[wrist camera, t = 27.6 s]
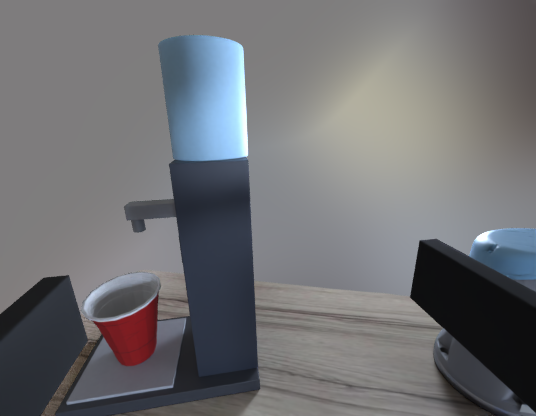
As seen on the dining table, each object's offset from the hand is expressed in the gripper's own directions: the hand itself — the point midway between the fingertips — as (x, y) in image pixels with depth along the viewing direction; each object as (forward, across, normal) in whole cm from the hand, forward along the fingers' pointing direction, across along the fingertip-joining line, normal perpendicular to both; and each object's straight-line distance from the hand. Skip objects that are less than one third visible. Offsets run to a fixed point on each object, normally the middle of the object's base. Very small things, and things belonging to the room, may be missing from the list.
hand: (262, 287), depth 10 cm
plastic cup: (+28, -18, -30) cm, 45 cm away
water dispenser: (+28, -12, -32) cm, 44 cm away
